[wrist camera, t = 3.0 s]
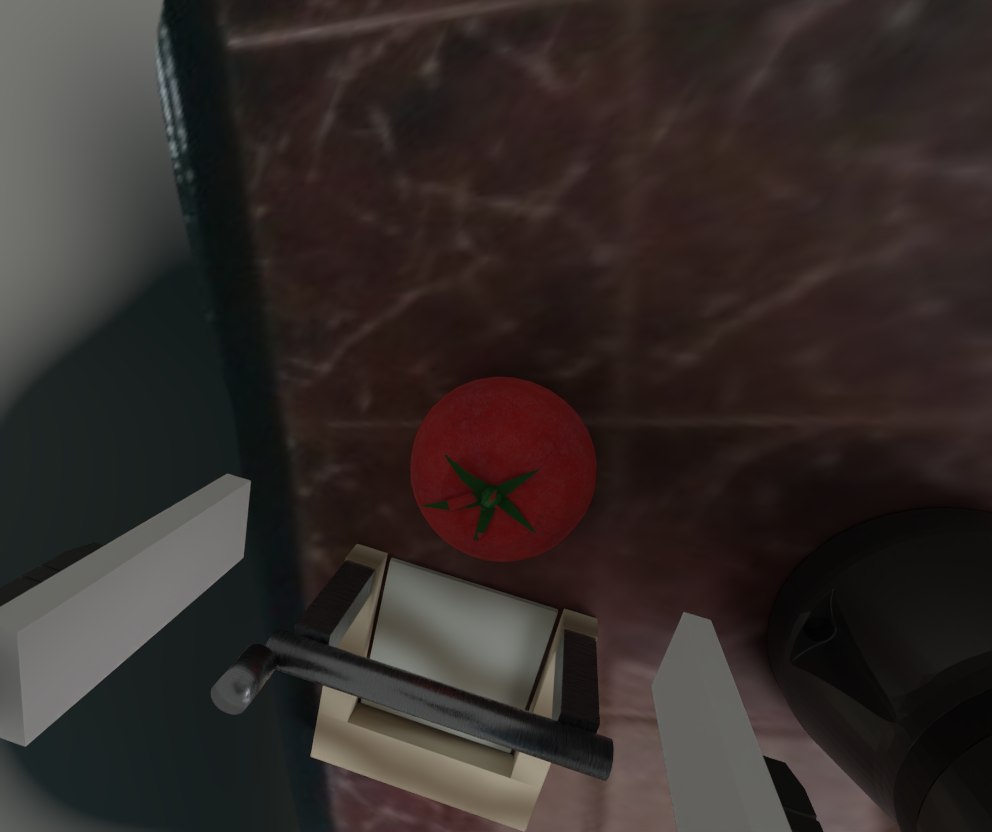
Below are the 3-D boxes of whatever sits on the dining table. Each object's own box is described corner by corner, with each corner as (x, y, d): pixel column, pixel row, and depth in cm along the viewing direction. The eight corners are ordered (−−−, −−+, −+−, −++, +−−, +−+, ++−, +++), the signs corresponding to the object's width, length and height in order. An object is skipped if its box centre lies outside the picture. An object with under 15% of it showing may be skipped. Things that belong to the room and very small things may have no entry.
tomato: (417, 487, 29) (359, 563, 21) (456, 341, 26) (406, 368, 19) (563, 538, 28) (557, 635, 21) (619, 394, 26) (636, 445, 18)
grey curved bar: (324, 552, 29) (212, 675, 20) (606, 641, 28) (619, 815, 19) (320, 578, 30) (209, 708, 21) (596, 666, 28) (605, 846, 20)
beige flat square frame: (357, 543, 31) (345, 557, 29) (597, 618, 29) (598, 637, 28) (322, 735, 35) (310, 756, 34) (527, 807, 34) (524, 831, 33)
